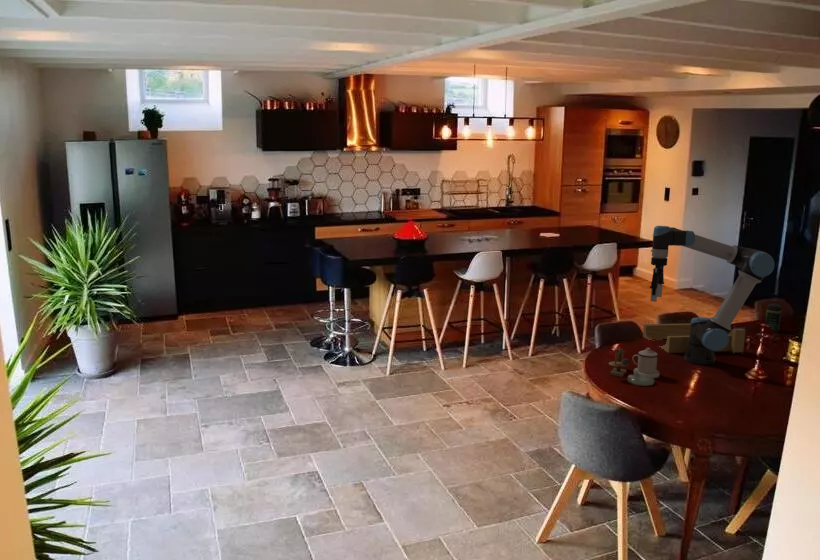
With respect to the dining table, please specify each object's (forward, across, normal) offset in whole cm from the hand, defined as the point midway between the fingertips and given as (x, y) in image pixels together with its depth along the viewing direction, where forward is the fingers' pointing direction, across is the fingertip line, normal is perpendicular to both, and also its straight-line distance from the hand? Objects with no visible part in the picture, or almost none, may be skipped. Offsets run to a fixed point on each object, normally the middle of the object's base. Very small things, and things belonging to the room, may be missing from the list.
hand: (656, 299), depth 344 cm
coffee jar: (+35, -110, +50) cm, 126 cm away
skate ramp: (+35, -50, +12) cm, 63 cm away
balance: (+35, +22, -11) cm, 43 cm away
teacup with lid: (+33, +16, 0) cm, 37 cm away
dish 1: (+35, +16, +1) cm, 38 cm away
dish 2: (+35, +29, +1) cm, 45 cm away
